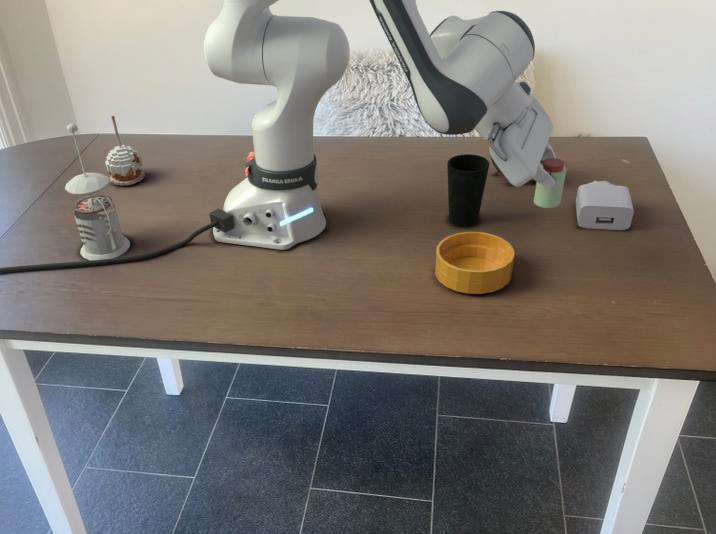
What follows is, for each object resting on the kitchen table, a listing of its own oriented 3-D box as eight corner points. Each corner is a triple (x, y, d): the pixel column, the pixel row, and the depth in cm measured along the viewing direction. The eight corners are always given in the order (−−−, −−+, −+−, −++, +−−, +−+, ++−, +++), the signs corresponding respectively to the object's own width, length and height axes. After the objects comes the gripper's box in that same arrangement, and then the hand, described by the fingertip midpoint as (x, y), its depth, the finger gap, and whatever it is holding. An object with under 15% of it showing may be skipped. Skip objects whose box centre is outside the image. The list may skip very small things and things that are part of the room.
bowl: (435, 295, 121) (436, 271, 118) (434, 255, 131) (436, 231, 128) (513, 297, 119) (517, 272, 116) (507, 256, 129) (511, 232, 126)
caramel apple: (148, 182, 162) (134, 117, 152) (114, 190, 160) (97, 125, 150) (140, 169, 168) (126, 106, 158) (108, 177, 166) (91, 113, 156)
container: (535, 208, 116) (541, 168, 112) (532, 195, 119) (538, 156, 115) (562, 208, 116) (569, 168, 111) (558, 195, 119) (565, 156, 114)
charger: (621, 193, 144) (629, 230, 133) (573, 191, 146) (577, 227, 135) (626, 171, 141) (634, 208, 130) (577, 169, 143) (581, 205, 132)
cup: (487, 214, 141) (493, 156, 134) (477, 232, 136) (483, 174, 128) (449, 208, 144) (453, 152, 136) (438, 226, 139) (442, 168, 131)
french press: (112, 229, 146) (80, 109, 130) (145, 248, 140) (115, 124, 124) (70, 249, 141) (31, 126, 125) (102, 269, 135) (65, 142, 119)
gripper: (503, 126, 102) (562, 196, 105) (527, 76, 116) (579, 140, 119) (469, 152, 107) (527, 219, 110) (497, 101, 121) (547, 162, 124)
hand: (554, 177), depth 115 cm, fingers closed on container, 4 cm apart
